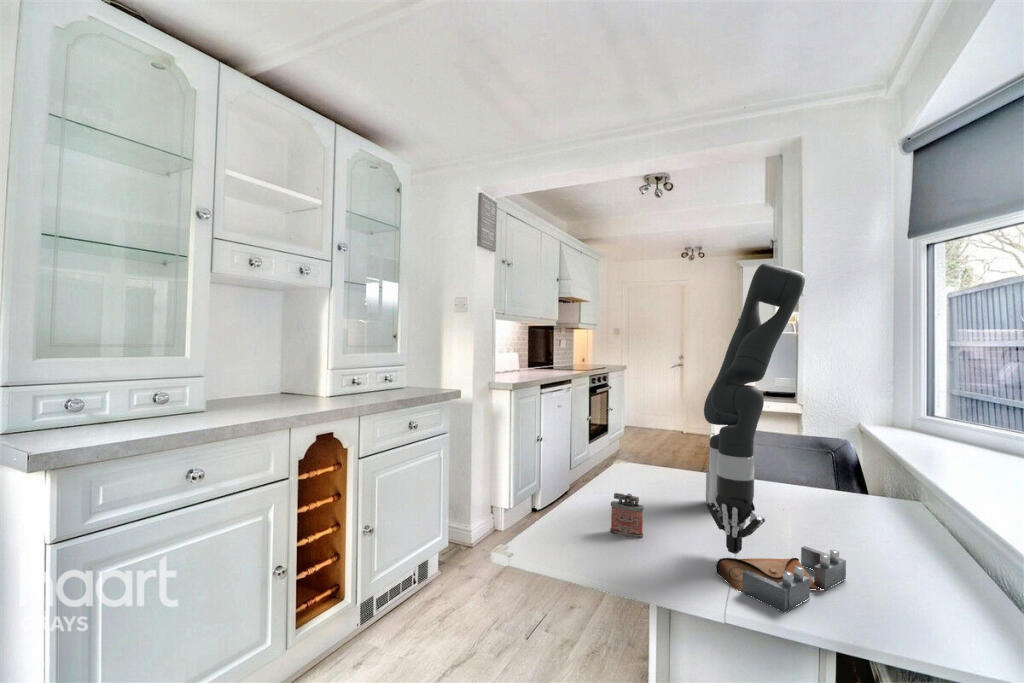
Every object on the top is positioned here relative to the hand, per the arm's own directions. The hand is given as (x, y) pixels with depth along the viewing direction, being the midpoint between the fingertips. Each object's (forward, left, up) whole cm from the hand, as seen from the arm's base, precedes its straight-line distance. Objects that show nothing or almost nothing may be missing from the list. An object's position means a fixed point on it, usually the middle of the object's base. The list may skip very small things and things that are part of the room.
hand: (733, 552), depth 107 cm
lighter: (-22, -10, -2) cm, 24 cm away
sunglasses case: (+10, -3, -2) cm, 10 cm away
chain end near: (+14, -8, -2) cm, 16 cm away
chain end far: (+14, +7, -2) cm, 15 cm away
